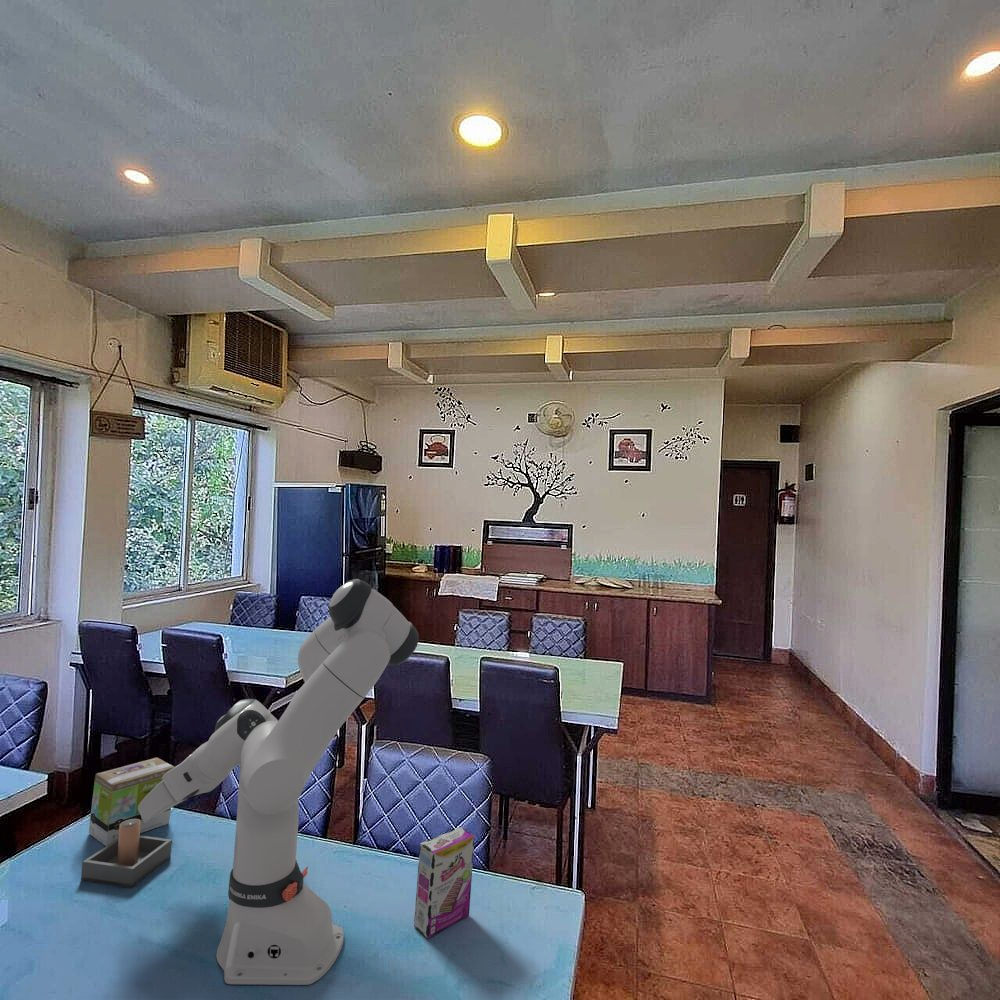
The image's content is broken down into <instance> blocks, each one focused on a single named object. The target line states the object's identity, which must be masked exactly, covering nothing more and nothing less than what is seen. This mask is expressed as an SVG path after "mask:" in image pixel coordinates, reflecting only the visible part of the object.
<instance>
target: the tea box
mask: <svg viewBox="0 0 1000 1000" xmlns="http://www.w3.org/2000/svg"><path fill="white" fill-rule="evenodd" d="M174 767H175V766H174V765H172V764H171V763H168V762H167V761H164V760H163V759H161V758H159V757H153V758H150V759H147V760H141V761H138V762H135V763H131V764H127V765H124V766H121V767H117V768H112V769H109V770H105V771H101V772H97V773H95V776H94V781H93V782H94V783H93V784H94V785H93V790H92V791H93V792H92V793H93V794H92V799H91V808H90V809H91V810H90V817H89V826H88V834H89V835H91V836H92V837H93V838H94V839H95V840H97V841H98V842H99V843H101V844H102V845H104V847H106V846H107V845H109V844H110V843H112V842H113V841H115V840H116V839H118V838H119V825H120V824H121V823H122V822H124V821H126V820H129V819H139V820H140V821H141V822H140V834H142V833H146V832H148V831H151V830H153V829H156V828H159V827H163V826H166V825H168V824H169V823H170V820H171V815H172V814H171V812H172V807H171V808H170V809H168V810H166V811H164V812H163V813H161V814H159V815H157V816H155V817H154V818H152V819H151V820H149V821H148V822H146V823H145V822H144V821H143V820H142V818H141V815H140V813H139V811H138V805H139V804H140V802H141V801H142V800H143V799H144V798H145V797H146V796H147V795H148V794H149V793H150V792H151V791H152V789H153V788H154V787H156V786H157V785H158V784H159V783H160V782H161V781H163V779H162V777H163V775H164V774H166V773H167V772H168V771H170V770H171V769H172V768H174Z"/></svg>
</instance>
